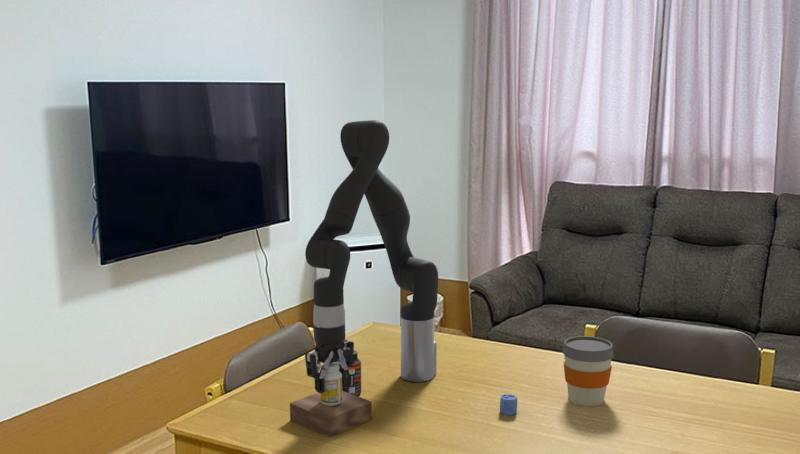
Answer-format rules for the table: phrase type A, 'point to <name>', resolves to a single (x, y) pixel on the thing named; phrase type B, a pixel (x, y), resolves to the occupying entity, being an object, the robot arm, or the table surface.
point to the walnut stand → (330, 413)
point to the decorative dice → (508, 404)
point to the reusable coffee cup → (587, 369)
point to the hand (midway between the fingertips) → (330, 388)
